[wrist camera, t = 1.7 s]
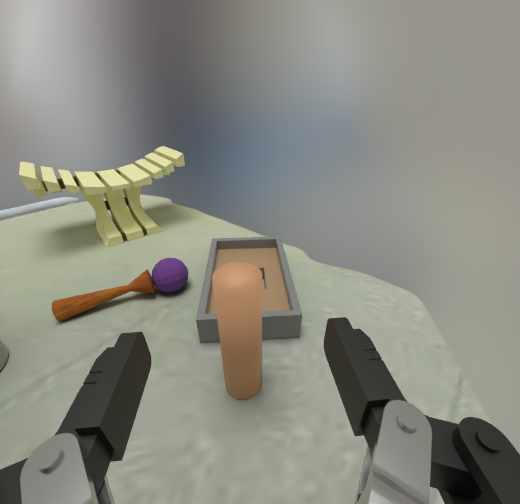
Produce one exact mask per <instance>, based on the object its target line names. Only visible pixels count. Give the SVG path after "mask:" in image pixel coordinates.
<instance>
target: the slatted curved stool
mask: <svg viewBox="0 0 520 504" xmlns="http://www.w3.org/2000/svg"><path fill="white" fill-rule="evenodd" d="M154 153H155V154H154ZM154 153H150V154H149V155H146V156H145V160H144V159H140V160H138V161H135V165H133V164H130V165H127V166H124V167H120V168H118V169H117V170H116V171H115V170H114V169H112V170H106V171H98V172H97V173H95V174H94V173H93V172H75V177H72V176H71V174H70V172H69V171H68V170H59V173H60V175H61V179H57V178H56V175H55V173H54V171H53V169H52V168H50V167H44V166H41V171H42V176H43V181H42V179H41V177H40V175H39V173H38V171H37V169H36V167H35V165H34V164H33V163H27V162H21V163H20V177H21V179H22V181H23V183H24V185H25V187H26V189H27V190H34V192H35V194H36V196H37V197H38V198H39V197H41V196H44V195H46V194H47V192H46V191H48V192H52V193H56V192H62V190H61V189H64V188H66V189H67V192H68V194H72V193H77V194H78V192H79V189H78V186H79V187H80V189H81V192H82V194H83V195H84V198H85V199H86V200H87V201H88V202H89V203H90V204H91V205H92V207H93V208H94V211H95V214H96V229H97V231H98V233H99V235H100V236H101V238H102V240H103V242H104V244H105V246H106V247H109V246H113V245H116V244H120V243H123V242H124V241H125V240H128V241H130V240H133V239H137V238H140V237H144V235H146V234H147V235H151V234H154V233H158V232H161V231H162V230H161V229H160V228H159V227H158V226H157V224H156V223H155V222H154V221H153V220H152V219H151V218H150V217H149V216H148V215H147V214H146V213H145V211H144V210H143V208H142V206H141V203H140V190H141V186H142V185H147V184H152V181H151V177H153V178H155V179H157V178H163V175H170V172H174V167H173V165H174V166H177V167H179V166H185V164H184V157H183V153H180V152H178V151H175V150H172V149H170V148H167V147H164V146H162V147H159V148H158V149H155V151H154ZM122 189H123V191H122ZM123 192H124V195H125V197H124V195H123ZM102 193H104V195H105V198H106V201H104V199H103V196H102ZM127 206H128V208H129V210H128V208H127ZM108 210H110V212H111V215H112V217H113V219H114V221H115V223H116V225H117V226H118V227H119V229H120V230H121V232H122V233H120V232H119V231H118V229H117V228H116V226H115V224H114V223H113V221H112V219H111V217H110V215H109V213H108ZM129 211H130V212H129ZM130 213H131V214H130ZM136 222H137V223H138V224H139V225H140V226H139V225H138V224H137V223H136ZM140 227H141V228H140Z"/></svg>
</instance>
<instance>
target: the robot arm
mask: <svg viewBox="0 0 520 504" xmlns="http://www.w3.org/2000/svg"><path fill="white" fill-rule="evenodd" d="M324 350H325V355H326V358H327V361H328V363H329V366H330V369H331V372H332V374H333V377H334V380H335V383H336V385H337V388H338V391H339V394H340V396H341V399H342V402H343V405H344V408H345V410H346V413H347V416H348V419H349V421H350V424H351V427H352V430H353V432H354V435H355V436H362V435H364V436H365V439H366V441H367V444H368V447H367V450H366V455H365V459H364V464H363V468H362V473H361V477H360V481H359V486H358V490H357V495H356V499H355V503H354V504H430V503H429V495H430V487H433V488H436V489H438V490H439V492H440V494H441V497H442V499H443V501H444V503H445V504H520V454H519V453H518V452H517V451H516V449H515V448H514V447H513V445H512V444H511V443H510V441H509V440H508V439H507V438H506V437H505V435H504V434H502V433H501V432H500V431H499V430H498V429H497V428H496V427H494V426H493V425H491V424H490V423H488V422H486V421H484V420H481V419H479V418H474V417H467V418H464V419H463V420H462V421H461V422H460V423H459V424H455V423H451V422H447V421H443V420H439V419H435V418H431V417H428V416H426V415H424V414H423V413H422V412H421V411H420V410H419V409H418V408H417V407H415V406H414V405H412V404H410V403H408V402H407V401H406V399H405V398H404V396H403V395H402V393H401V391H400V390H399V388H398V386H397V384H396V383H395V381H394V379H393V377H392V376H391V374H390V372H389V371H388V369H387V367H386V365H385V364H384V362H383V360H381V357H380V355H379V353H378V351H376V348H375V346H374V344H373V343H372V341H371V339H370V338H369V337H368V336H367V335H366V334H365V333H364V332H363V331H362V330H361V329H353V328H352V326H351V324H350V322H349V321H348V319H347V318H346V317H343V318H329V319H328V321H327V327H326V332H325V338H324ZM8 354H9V353H8V349H7V348H6V347H5V345H4V344H3V343H2V342H1V341H0V370H1V369H2V368H3V366H4V365H5V363H6V361H7V359H8ZM150 368H151V354H150V351H149V349H148V346H147V343H146V340H145V337H144V335H143V333H142V332H132V333H122V334H121V335H120V336H119V338H118V340H117V342H116V344H115V346H114V347H110V348H107V349H106V350H105V351H104V352H103V353H102V354H101V355H100V356H99V357H98V358H97V359H96V361H95V362H94V364H93V366H92V368H91V370H90V372H89V375H87V377H86V379H85V381H84V385H83V386H82V387H81V389H80V390H79V392H78V394H77V396H76V398H75V400H74V402H73V403H72V405H71V407H70V409H69V411H68V413H67V415H66V417H65V418H64V420H63V422H62V424H61V426H60V428H59V429H58V431H57V433H56V434H55V435H54V436H53V437H51V438H49V439H48V440H46V441H45V442H43V443H42V444H41V445H40V446H38V447H37V448H36V449H35V450H34V451H33V453H32V454H31V455H30V456H29V458H26V459H24V460H22V461H20V462H17V463H15V464H13V465H10V466H8V467H6V468H3V469H1V470H0V504H115V503H114V499H113V496H112V493H111V489H110V486H109V483H108V480H107V477H106V473H107V470H108V467H109V464H110V462H111V461H120V460H122V458H123V455H124V452H125V449H126V445H127V442H128V439H129V436H130V433H131V429H132V426H133V423H134V420H135V417H136V413H137V410H138V407H139V404H140V401H141V397H142V394H143V391H144V388H145V385H146V381H147V378H148V375H149V372H150Z"/></svg>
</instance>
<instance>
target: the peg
mask: <svg viewBox="0 0 520 504" xmlns="http://www.w3.org/2000/svg"><path fill="white" fill-rule="evenodd" d="M212 283H213V291H214V298H215V306H216V314H217V322H218V330H219V338H220V345H221V353H222V361H223V369H224V377H225V384H226V389H227V391H228V393H229V394H230V395H231V396H232V397H234V398H236V399H240V400H246V399H249V398H252V397H253V396H255V395H256V394H257V393H258V392H259V390H260V388H261V385H262V272H261V270H260V269H259V268H258V267H256V266H255V265H253V264H250V263H246V262H232V263H228V264H225V265H223V266H221V267H219V268H218V269H217V270H216V271H215V272H214V273H213V276H212Z"/></svg>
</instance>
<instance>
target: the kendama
mask: <svg viewBox="0 0 520 504" xmlns="http://www.w3.org/2000/svg"><path fill="white" fill-rule="evenodd" d="M187 280H188V270H187V267H186V266H185V265H184V263H183V262H182V261H180V260H178V259H176V258H166V259H163V260H161V261H159V262H158V263H157V264H156V265H155V267H154V268H153V270H152V277H151V275H150V273H149V272H148V270H146V271H145V272H143V273H142V274H141V275H140V276H139V277H137V278H136V279H135V280H134V281H132V282H131V283H130V284H129V285H126V286H121V287H117V288H112V289H107V290H102V291H98V292H93V293H88V294H83V295H79V296H74V297H69V298H65V299H60V300H55V301H53V302H52V311H53V314H54V316H55V318H56V319H57V320H58V321H63V320H65V319H68V318H70V317H72V316H75V315H77V314H79V313H81V312H84V311H86V310H88V309H91V308H93V307H95V306H98V305H100V304H102V303H104V302H107V301H109V300H111V299H114V298H116V297H118V296H121V295H123V294H125V293H127V292H130V291H134V292H148V293H155V289H154V285H155V286H156V287H157V288H158V289H159V290H162V291H164V292H175V291H178V290H180V289H181V288H182V287H183V286H184V285H185V283H186V282H187Z"/></svg>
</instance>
